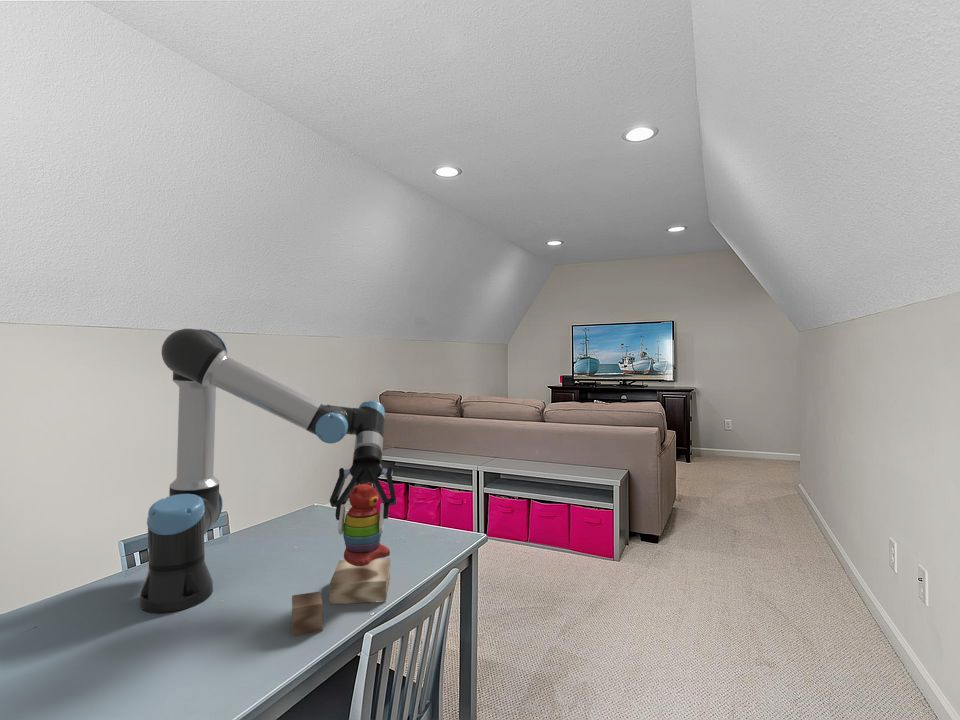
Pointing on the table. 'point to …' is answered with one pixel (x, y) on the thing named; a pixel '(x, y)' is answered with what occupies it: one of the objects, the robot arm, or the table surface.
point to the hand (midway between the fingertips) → (360, 531)
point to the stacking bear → (363, 527)
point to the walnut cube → (306, 613)
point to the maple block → (360, 582)
